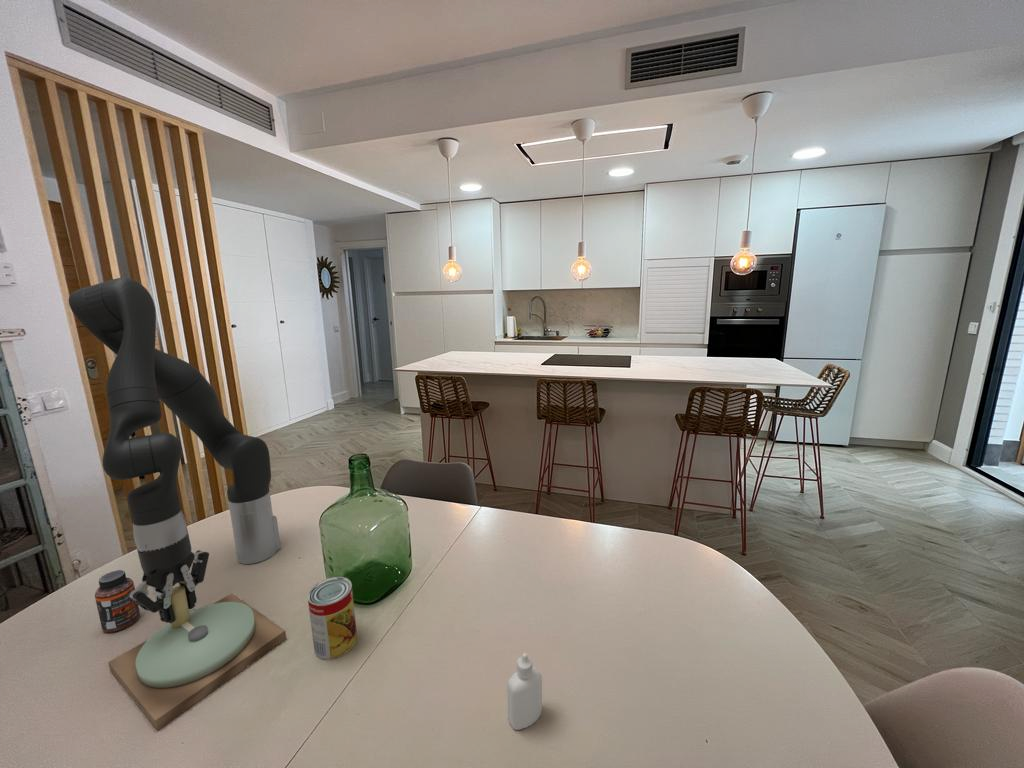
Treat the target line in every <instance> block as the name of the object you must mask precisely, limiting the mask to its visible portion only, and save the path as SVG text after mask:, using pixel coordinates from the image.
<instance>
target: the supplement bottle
mask: <svg viewBox="0 0 1024 768" xmlns="http://www.w3.org/2000/svg"><path fill="white" fill-rule="evenodd" d="M98 585H99V587H98V588H97V589H96V590H95V593H94V598H95V605H96V607H97V613H98V617H99V622H100V626H101V629H102V631H103V632H105V633H114V632H118V631H122V630H124V629H126V628H127V627H130V626H131V625H133V624H134V623H136V621H137V620H139V617H141V616H140V606H139V605H138V604H137V603H135V602H134V601H133V600H131V599H130V598H129V597H128V596H127V592H128V591H129V590H132V589H133V590H135V589H136V588H135V583H134V580H133V579H132V578H131V577H127V576H126V571H125V570H123V569H118V570H114V571H110V572H106V573H105V574H103V575H102V576H101V577H99V578H98Z"/></svg>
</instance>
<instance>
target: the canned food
mask: <svg viewBox="0 0 1024 768" xmlns="http://www.w3.org/2000/svg"><path fill="white" fill-rule="evenodd" d="M353 592H354V591H353V583H352V581H351V580H350V579H349V578H347V577H344V576H335V577H334V576H333V577H328V578H326V579H325V578H324V579H323V580H321V581H319V582H318V583H316V584H315V585H313V586H312V587H311V588H310V589H309V591H308V593H307V596H306V597H307V604H308V611H309V619H310V620H309V621H310V627H311V636H312V641H313V642H312V643H313V644H312V645H313V649H314V654H315V655H316V656H315V657H317V658H319V659H321V660H325V661H327V660H330V661H332V660H334V659H337V658H340V656H341V657H342V656H344V655H346V654H347V653H349V652H350V651H351V650H352V649H353V647H354V646H355V645H356V642H357V640H358V632H357V623H356V614H355V613H356V612H355V604H354V593H353Z"/></svg>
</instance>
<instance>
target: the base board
mask: <svg viewBox="0 0 1024 768" xmlns="http://www.w3.org/2000/svg"><path fill="white" fill-rule="evenodd" d="M222 602H238V603H242V604H245V605H247V606H249V607H250V608H251V610H252V611H253V614H254V620H255V630H254V633H253V635H252V637H251V639H250V641H249V642H248V644H247V645H246V646H245V647H244V648H243V650H242V651H241V652H240V653H239V654H238V655H236V656H235V657H234V658H233V659H232V660H230V661H229V662H228V663H226V664H225V665H223V666H222V667H220V668H219V669H217V670H216V671H214V672H212V673H210V674H208V675H206V676H204V677H202V678H200V679H197V680H195V681H192V682H189V683H186V684H183V685H179V686H174V687H168V688H154V687H150V686H147V685H145V684H143V683H142V682H141V681H140V679H139V677H138V673H137V669H136V658H137V655H138V653H139V651H140V649H141V648H142V646H143V645H144V644H145V643H146V641H147V640H146V641H144V642H141V643H139V644H138V645H136V646H134V647H132V648H131V649H128V650H127V651H125V652H123V653H122V654H120V655H118V656H116V657H114V658H112V659H111V660H109V661H107V664H108V667H109V671H110V673H111V674H112V675H113V677H114V678H115V679H116V681H118V683H119V684H120V685H121V687H122V688H123V689H124V691H125V693H127V694H128V695H129V697H130V698H131V700H133V702H134V703H135V705H136V707H138V708H139V710H140V711H141V712H142V713H143V714H144V716H145V718H147V719H148V721H149V722H150V723H151V724H152V726H153V727H154V728H155V730H156V731H157V732H158V731H160V730H161V729H162V728H163V727H165V726H166V725H168V724H169V723H171V722H172V721H173V720H175V719H176V718H178V717H179V716H180V715H181V714H183V713H185V712H186V711H187V710H189V709H190V708H192V707H193V706H194V705H196V704H197V703H198V702H200V701H201V700H202V699H204V698H206V697H207V696H208V695H210V694H211V693H212V692H214V691H216V690H217V689H218V688H220V687H221V686H222V685H224V684H225V683H226V682H228V681H230V680H231V679H232V678H234V677H235V676H237V675H238V674H240V673H241V672H242V671H243V670H245V669H246V668H247V667H250V666H251V665H252V664H253V663H255V662H257V660H260V659H261V658H262V657H264V655H266V654H268V653H269V652H270V651H272V650H273V649H275V648H276V647H277V646H279V645H280V644H281V643H283V642H284V641H285V640H287V634H286V633H287V632H286V629H284V628H283V627H281V626H280V625H278V624H277V623H276V622H274V621H272V620H271V619H269V617H267V616H266V615H264V614H263V613H261V612H260V611H258V610H257V609H255V608H254V607H252V606H251V605H249V604H248V603H247V602H245V601H244V600H242V599H241V598H240V597H239V596H237V595H235V594H234V593H230V594H227V595H226V596H224V597H222V598H220V599H218V600H217V601H216V602H214V603H213V604H216V603H222Z"/></svg>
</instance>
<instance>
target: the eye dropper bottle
mask: <svg viewBox="0 0 1024 768" xmlns="http://www.w3.org/2000/svg"><path fill="white" fill-rule="evenodd" d="M542 677H543V676H542V674H541V672H540V671H539V669H538V668H537V667H535V666H533V660H532V658H531V657H529V656H528V654H527V653H526V652H522V656H520V657H519V658H518V659H517V661H516V671H515V672H514V673H513V674H512V676H510V678H509V680H508V681H507V686H506V687H507V689H506V690H507V691H506V692H507V695H506V697H507V698H506V699H507V721H508V722H509V724H510V726H511V727H512V729H513V730H515V731H519V730H520V731H521V730H523V728H524V729H526V728H528V726H529V727H530V726H532V725H533V724H534V723H536V721H538V720H539V718H540V716H541V715H542V711H543V679H542Z"/></svg>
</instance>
